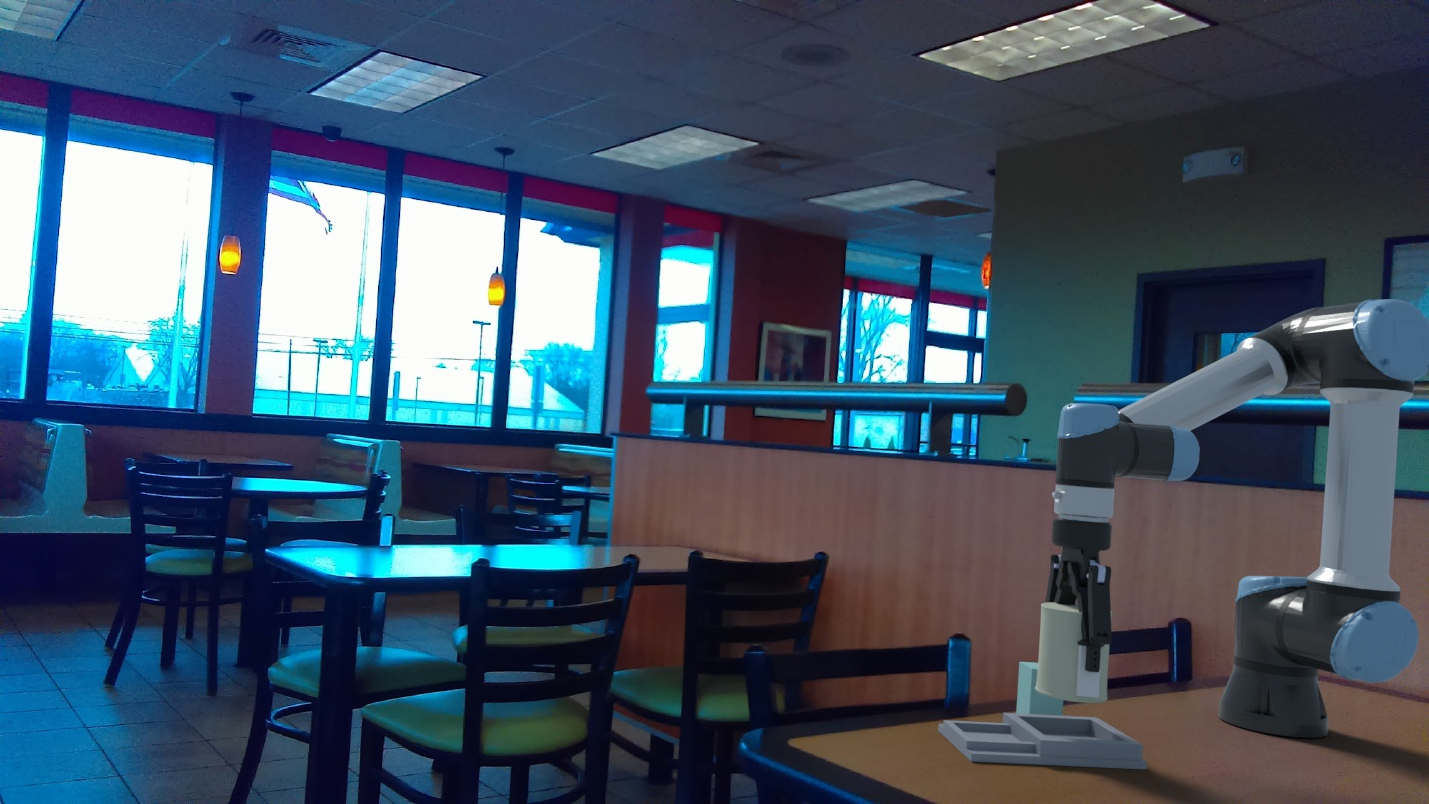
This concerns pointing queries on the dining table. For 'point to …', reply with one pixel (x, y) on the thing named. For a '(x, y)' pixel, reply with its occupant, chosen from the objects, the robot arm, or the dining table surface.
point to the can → (1064, 654)
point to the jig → (1045, 741)
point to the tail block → (1034, 694)
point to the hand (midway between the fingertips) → (1071, 687)
